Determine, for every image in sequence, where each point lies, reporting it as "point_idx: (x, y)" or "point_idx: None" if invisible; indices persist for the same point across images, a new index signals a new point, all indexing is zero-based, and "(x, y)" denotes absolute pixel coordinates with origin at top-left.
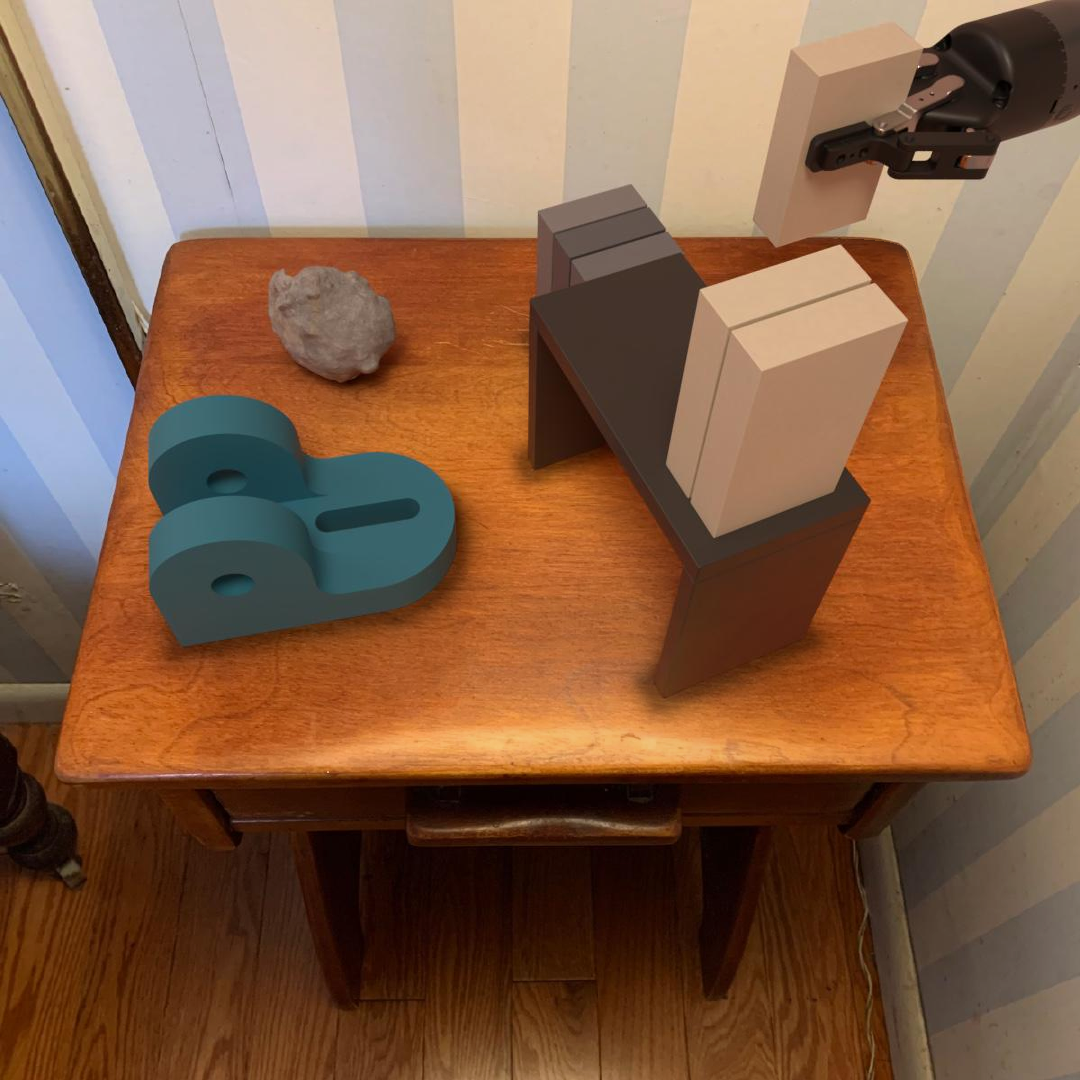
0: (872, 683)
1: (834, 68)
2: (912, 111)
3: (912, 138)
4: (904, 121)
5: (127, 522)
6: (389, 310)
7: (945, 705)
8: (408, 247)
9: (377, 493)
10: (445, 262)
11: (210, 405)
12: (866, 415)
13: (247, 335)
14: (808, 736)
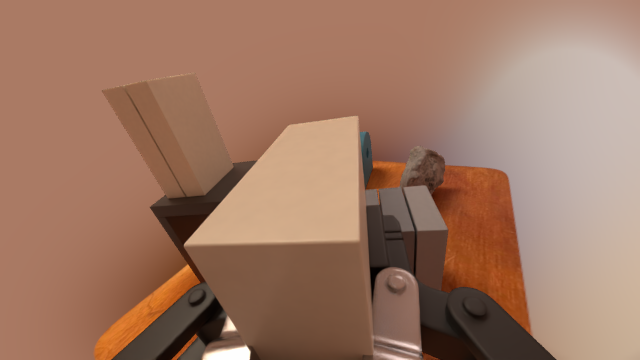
0: (170, 305)
1: (288, 132)
2: (218, 339)
3: (189, 294)
4: (226, 320)
5: (373, 161)
6: (410, 177)
7: (133, 329)
8: (515, 230)
9: None
10: (500, 241)
11: (361, 133)
12: (138, 150)
13: (446, 180)
14: (187, 272)
